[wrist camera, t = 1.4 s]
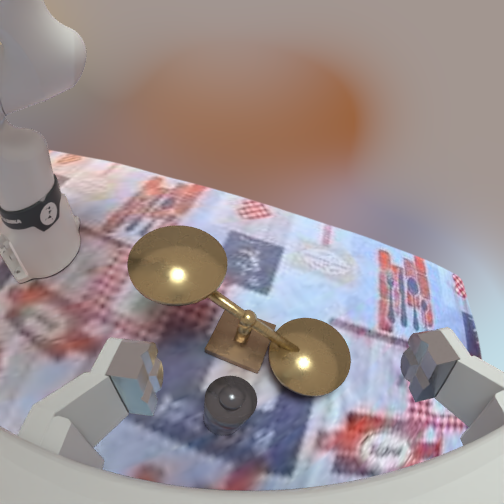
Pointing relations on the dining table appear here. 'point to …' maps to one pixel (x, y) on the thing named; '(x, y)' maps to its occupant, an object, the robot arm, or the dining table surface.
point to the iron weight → (228, 404)
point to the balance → (236, 312)
